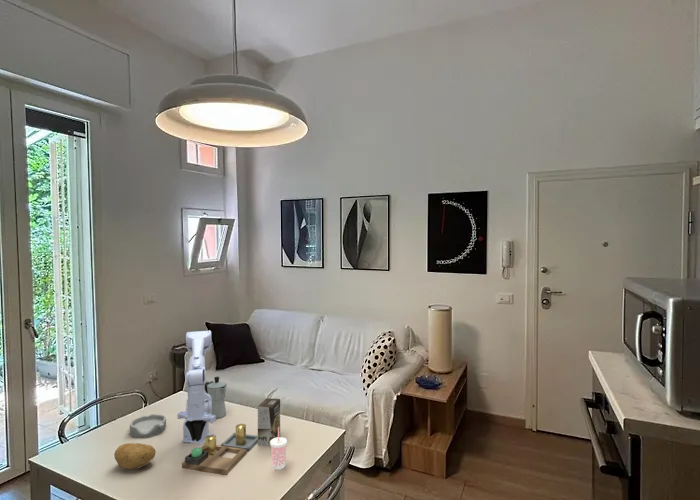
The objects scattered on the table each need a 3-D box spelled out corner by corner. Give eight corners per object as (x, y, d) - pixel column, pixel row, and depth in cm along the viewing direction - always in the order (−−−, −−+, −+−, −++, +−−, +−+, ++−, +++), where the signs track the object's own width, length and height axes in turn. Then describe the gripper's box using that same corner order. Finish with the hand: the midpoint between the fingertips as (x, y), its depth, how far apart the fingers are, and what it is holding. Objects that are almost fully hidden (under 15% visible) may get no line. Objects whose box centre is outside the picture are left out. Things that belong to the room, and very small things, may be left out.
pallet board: (181, 468, 140) (181, 457, 140) (205, 448, 153) (205, 438, 153) (226, 475, 135) (226, 464, 135) (246, 454, 149) (246, 444, 149)
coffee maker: (233, 414, 184) (233, 376, 183) (218, 422, 176) (218, 382, 176) (212, 407, 191) (212, 371, 191) (197, 414, 184) (196, 376, 184)
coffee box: (272, 448, 153) (272, 407, 153) (257, 446, 155) (256, 406, 154) (281, 437, 162) (280, 398, 162) (266, 435, 164) (266, 397, 163)
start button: (189, 458, 140) (189, 452, 140) (195, 453, 144) (195, 447, 144) (198, 460, 139) (197, 453, 139) (204, 454, 143) (204, 448, 143)
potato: (146, 475, 136) (146, 452, 135) (108, 473, 137) (107, 451, 136) (162, 460, 145) (161, 438, 145) (125, 458, 146) (125, 437, 146)
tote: (220, 449, 153) (220, 444, 153) (234, 436, 162) (234, 432, 162) (248, 453, 150) (248, 448, 150) (260, 440, 159) (260, 436, 159)
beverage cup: (279, 459, 145) (279, 421, 145) (290, 465, 142) (290, 426, 141) (266, 466, 141) (266, 428, 141) (277, 472, 137) (277, 433, 137)
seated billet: (202, 457, 147) (202, 439, 147) (209, 452, 150) (209, 434, 150) (212, 459, 146) (212, 440, 146) (218, 453, 150) (218, 435, 149)
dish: (168, 433, 166) (168, 421, 166) (131, 442, 158) (131, 430, 158) (163, 420, 178) (163, 409, 178) (128, 429, 170) (128, 417, 170)
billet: (233, 445, 155) (233, 427, 154) (239, 440, 158) (238, 423, 158) (242, 446, 154) (242, 428, 153) (247, 441, 157) (247, 424, 157)
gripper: (171, 404, 139) (171, 442, 139) (207, 409, 136) (207, 447, 136) (184, 397, 146) (184, 433, 146) (218, 401, 142) (219, 438, 143)
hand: (196, 439), depth 141 cm, fingers closed
